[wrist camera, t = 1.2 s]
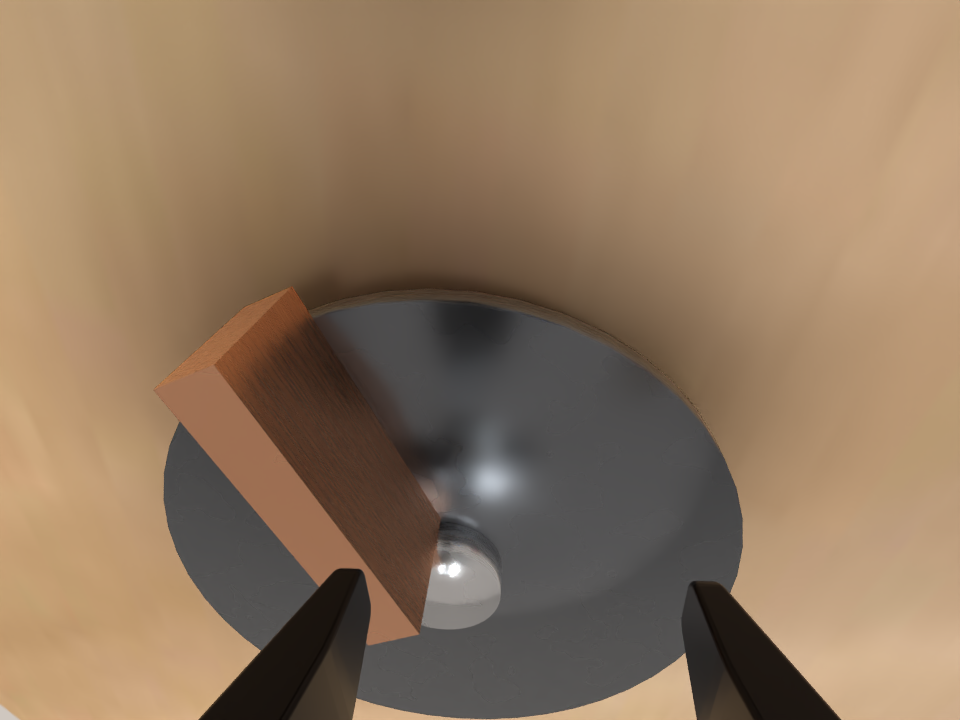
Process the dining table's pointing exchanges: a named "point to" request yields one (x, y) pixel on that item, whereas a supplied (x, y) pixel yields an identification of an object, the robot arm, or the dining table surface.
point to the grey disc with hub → (450, 493)
